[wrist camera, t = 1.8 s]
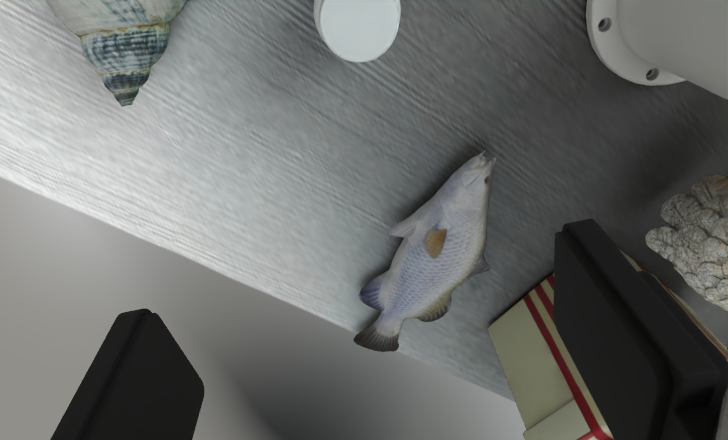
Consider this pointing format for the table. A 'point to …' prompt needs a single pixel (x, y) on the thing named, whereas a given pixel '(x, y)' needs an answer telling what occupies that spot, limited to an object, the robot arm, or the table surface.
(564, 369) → the gift box
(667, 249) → the cherub figurine
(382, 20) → the pill bottle
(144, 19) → the seashell
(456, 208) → the fish
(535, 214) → the table surface
